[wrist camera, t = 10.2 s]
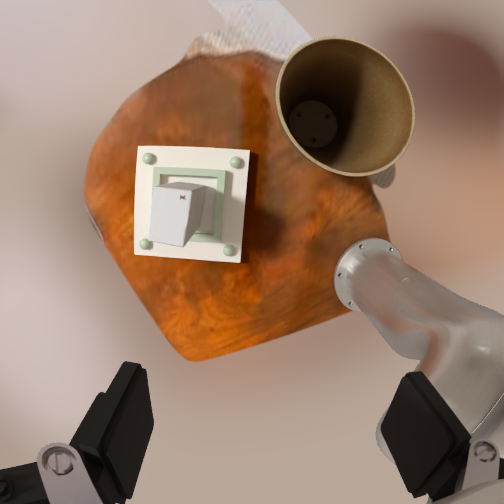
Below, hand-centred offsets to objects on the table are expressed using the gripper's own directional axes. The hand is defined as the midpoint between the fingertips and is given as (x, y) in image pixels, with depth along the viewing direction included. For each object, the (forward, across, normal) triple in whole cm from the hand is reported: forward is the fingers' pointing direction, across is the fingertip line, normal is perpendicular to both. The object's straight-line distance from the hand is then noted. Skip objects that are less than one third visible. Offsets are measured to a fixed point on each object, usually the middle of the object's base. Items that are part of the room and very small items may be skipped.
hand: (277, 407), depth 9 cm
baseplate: (+35, +10, -3) cm, 37 cm away
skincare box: (+34, +9, -3) cm, 35 cm away
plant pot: (+36, -8, -16) cm, 40 cm away
